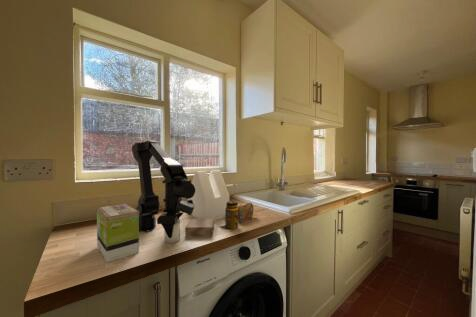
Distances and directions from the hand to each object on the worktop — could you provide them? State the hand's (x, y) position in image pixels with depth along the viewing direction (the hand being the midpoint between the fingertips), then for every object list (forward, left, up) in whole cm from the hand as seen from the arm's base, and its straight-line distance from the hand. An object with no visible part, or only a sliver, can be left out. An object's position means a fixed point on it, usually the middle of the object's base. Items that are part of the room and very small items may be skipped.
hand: (172, 234), depth 81 cm
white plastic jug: (+11, +35, -2) cm, 37 cm away
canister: (0, 0, -2) cm, 2 cm away
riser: (+10, +8, -2) cm, 13 cm away
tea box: (-17, -8, -2) cm, 19 cm away
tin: (+31, +25, -2) cm, 40 cm away
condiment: (+23, +13, -2) cm, 27 cm away
